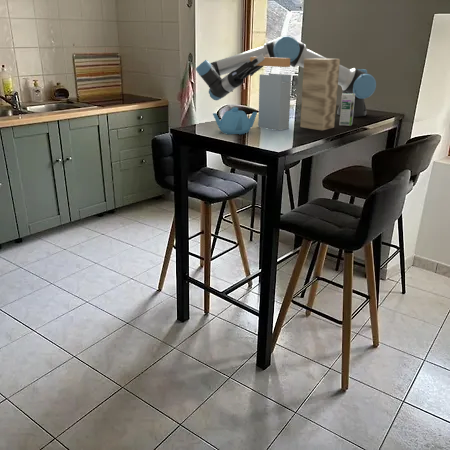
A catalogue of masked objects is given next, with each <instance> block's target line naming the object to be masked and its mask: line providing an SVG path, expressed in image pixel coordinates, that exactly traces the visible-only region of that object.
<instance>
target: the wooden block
mask: <svg viewBox="0 0 450 450" xmlns="http://www.w3.org/2000/svg"><path fill="white" fill-rule="evenodd" d="M340 62H341V59H340V58H328V57H325V58H312V59H304V68H303V73H302V92H301V109H300V110H301V111H300V128H303V129H310V130H317V131H326V130H329V129H333V128H334V129H335V123H336V122H335V121H336V112H337V111H336V110H337V98H338V96H337V95H338V88H339V87H338V86H339V85H338V77H339V65H341V63H340Z"/></svg>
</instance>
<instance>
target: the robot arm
mask: <svg viewBox="0 0 450 450" xmlns="http://www.w3.org/2000/svg"><path fill="white" fill-rule="evenodd" d="M250 57H256V58H255V59H254V60H252V62H251V61H250ZM264 57H273V58H290V67H292V68H296V67H300V68H302V69H304V59H312V58H326V57H325V56H323V55H321V54H319V53H317V52H314V51H313V50H310V49H308V48H307V46H306V44H305V43H303V42H301V41H299V40H297V39H296V38H295V37H294V36H291V35H282V36H278V37H276V38H275V39H272V40H270V41H268V42H265V43H264V44H263V45H262V46H258V47H256V48H252V49H250V50H247V51H243V52H241V53H237V54H234V55H231V56H229V57H225V58H222V59H218V60H215V61H213V62H209V60H207V59H205V60H203V61H202V62H201V63H200V64H199V65H198V66H197V67H196V68H195V71H196V72H197V74H198V76H199V77H200V78H201V79H202V80H203V82H204V83H206V85H207V87H208V88H209V89H208V94H209V97H210V98H211V99H212V101H213V100H214V101H219V100H221V99H223V98H225V97H226V96H227V95H229V94H230V93H232V92H234V90H235V89H237V88H239V87H240V86H241V85H242V84H243V83H244V81H245V80H244V79H247V78H248V77H249V76H250V77H252V76H253V75H254V74H255V73H257V72H258V71H259V70H261V69H262V68H263V67H264V66H256V65H258V64H259V63H260V62H262V61H263V60H264V59H265V58H264ZM223 75H225V76H223ZM221 76H223V78H222V77H221ZM338 86H340V87H341V89H342V93H341V95H342V94H343V93H352V94H355V102H354V112H353V118H354V117H356V118H357V117H365V116H366V115H367V107H366V103H365V99H367V98H368V99H369V98H370V97H371V96H372V95H373V94H374V93H375V91H376V89H377V88H376V87H377V81H376V78H375V77H374V76H373V75H372V74H370V73H368V70H367V69H364V68H361V69H359V68H356V67H353V68H348V67H346V66H344V65H342V64H340V65H339V77H338ZM336 110H337V111H336V112H337V113H336V114H337V115H338V116H340V112H341V102H340V103H339V106H338V108H337V109H336Z"/></svg>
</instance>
